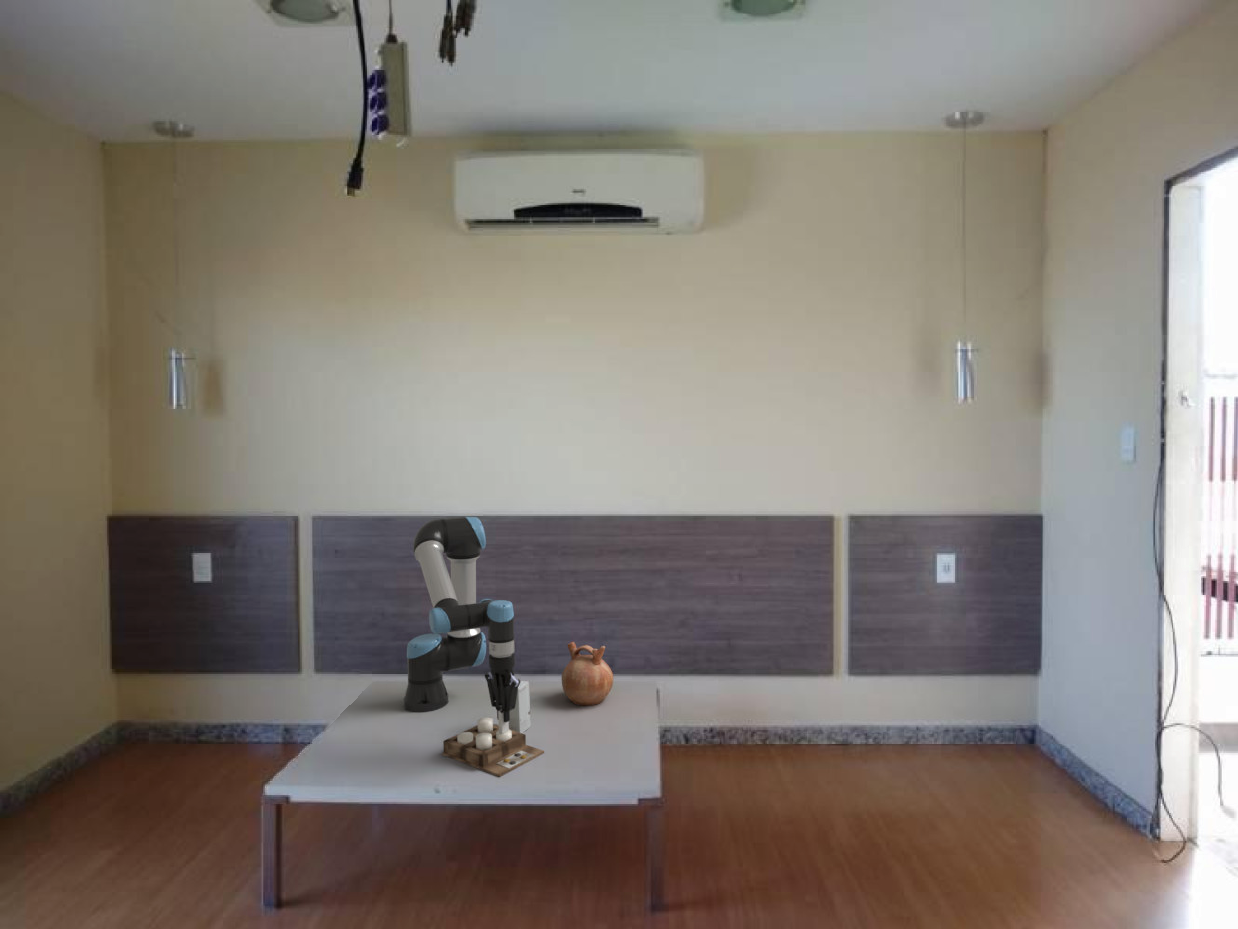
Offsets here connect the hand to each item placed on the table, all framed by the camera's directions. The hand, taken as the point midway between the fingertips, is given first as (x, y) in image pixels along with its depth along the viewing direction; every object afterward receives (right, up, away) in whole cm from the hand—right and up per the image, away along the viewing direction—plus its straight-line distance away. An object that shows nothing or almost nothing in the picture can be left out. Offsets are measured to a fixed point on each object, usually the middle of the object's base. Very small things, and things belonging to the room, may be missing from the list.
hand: (503, 731), depth 225 cm
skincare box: (+2, -5, +14) cm, 15 cm away
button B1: (-5, -3, -6) cm, 8 cm away
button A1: (-11, -5, -1) cm, 12 cm away
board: (-3, -6, -3) cm, 7 cm away
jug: (+24, -3, +39) cm, 46 cm away
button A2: (-6, -2, +5) cm, 8 cm away
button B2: (0, -4, 0) cm, 4 cm away
